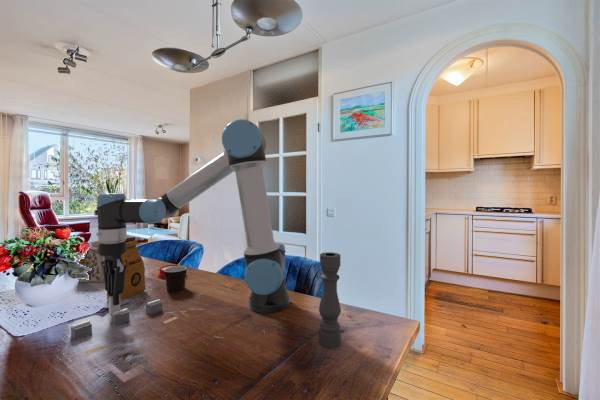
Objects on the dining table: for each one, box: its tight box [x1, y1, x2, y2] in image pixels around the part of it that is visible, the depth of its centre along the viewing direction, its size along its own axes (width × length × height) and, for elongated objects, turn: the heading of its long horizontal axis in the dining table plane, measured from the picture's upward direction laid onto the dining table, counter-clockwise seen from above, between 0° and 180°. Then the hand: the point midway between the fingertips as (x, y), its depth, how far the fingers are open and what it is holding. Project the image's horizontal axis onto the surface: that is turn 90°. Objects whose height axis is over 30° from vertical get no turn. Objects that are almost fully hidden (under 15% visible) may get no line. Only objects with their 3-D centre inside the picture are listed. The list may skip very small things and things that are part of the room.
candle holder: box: [318, 251, 342, 349], centre depth 79 cm, size 6×6×25 cm
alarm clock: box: [157, 264, 179, 279], centre depth 139 cm, size 10×6×15 cm
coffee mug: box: [164, 265, 188, 293], centre depth 118 cm, size 12×9×10 cm
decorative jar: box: [77, 240, 105, 283], centre depth 134 cm, size 12×12×18 cm
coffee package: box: [106, 239, 147, 301], centre depth 112 cm, size 10×12×22 cm
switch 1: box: [70, 320, 93, 341], centre depth 80 cm, size 3×4×4 cm
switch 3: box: [145, 298, 163, 316], centre depth 95 cm, size 3×4×4 cm
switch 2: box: [110, 307, 130, 327], centre depth 88 cm, size 3×4×4 cm
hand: (114, 313), depth 91 cm, fingers closed
